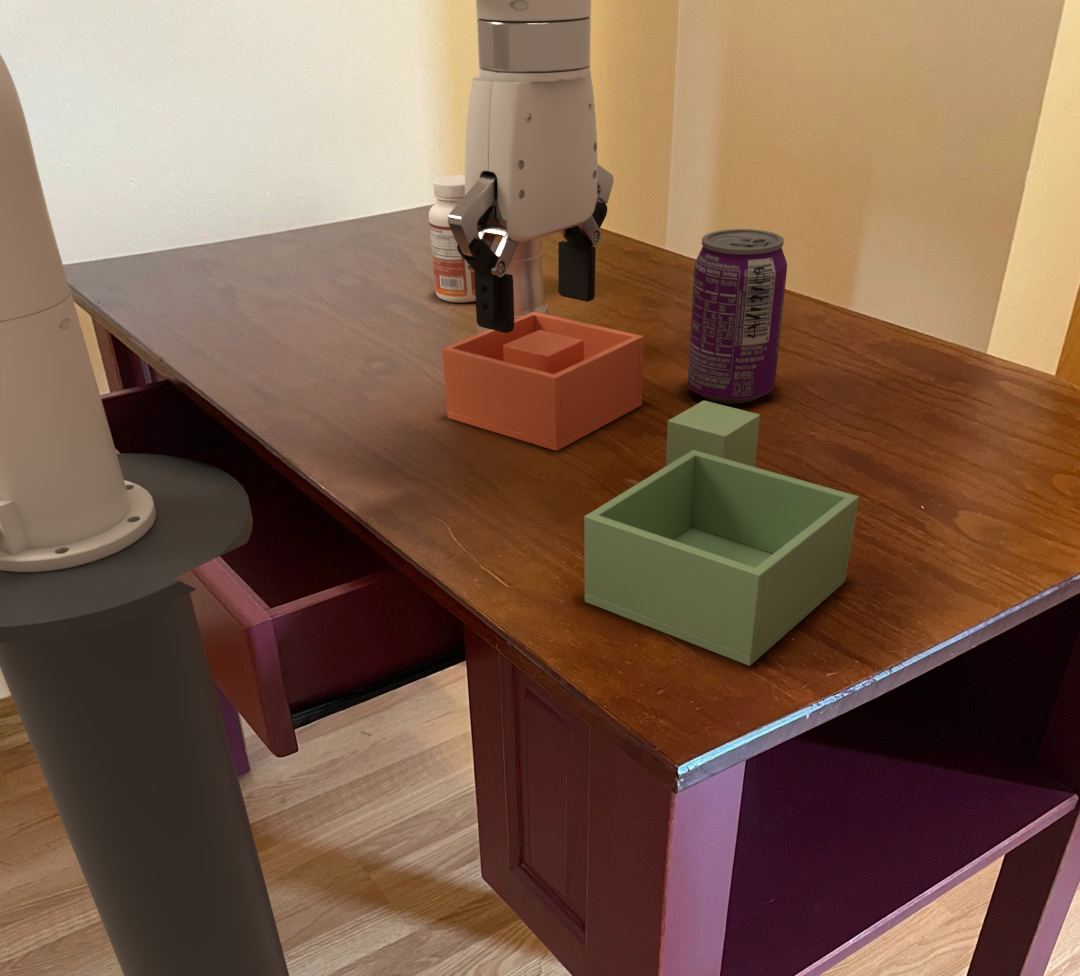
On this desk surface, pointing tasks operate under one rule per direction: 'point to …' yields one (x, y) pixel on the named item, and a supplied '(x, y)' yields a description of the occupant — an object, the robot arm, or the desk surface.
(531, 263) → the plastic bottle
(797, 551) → the sage bin
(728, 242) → the beverage can
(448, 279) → the pill bottle
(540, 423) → the coral bin
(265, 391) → the desk surface
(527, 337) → the coral block
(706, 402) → the sage block
